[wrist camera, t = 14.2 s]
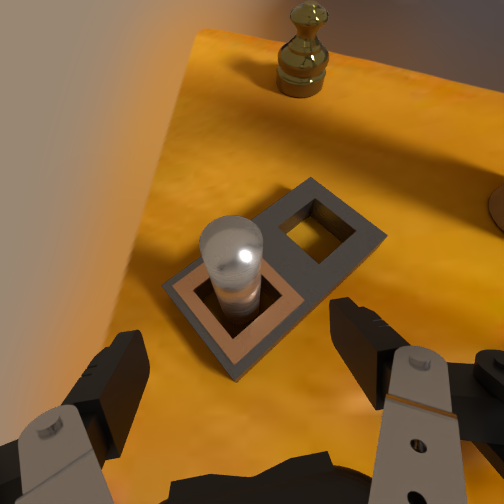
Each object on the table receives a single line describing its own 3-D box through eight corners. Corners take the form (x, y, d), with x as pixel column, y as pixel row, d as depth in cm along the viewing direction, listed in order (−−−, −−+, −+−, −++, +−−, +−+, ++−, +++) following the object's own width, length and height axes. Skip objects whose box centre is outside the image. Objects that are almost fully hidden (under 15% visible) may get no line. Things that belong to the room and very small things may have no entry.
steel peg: (242, 280, 27) (235, 205, 16) (267, 306, 26) (276, 243, 15) (214, 303, 26) (186, 239, 15) (238, 332, 25) (226, 283, 14)
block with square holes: (305, 194, 32) (311, 174, 29) (375, 250, 28) (389, 233, 26) (170, 296, 26) (160, 284, 23) (236, 382, 23) (233, 380, 20)
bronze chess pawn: (322, 72, 44) (339, -9, 35) (323, 100, 41) (342, 18, 32) (277, 70, 45) (282, -11, 36) (274, 97, 41) (280, 16, 32)
